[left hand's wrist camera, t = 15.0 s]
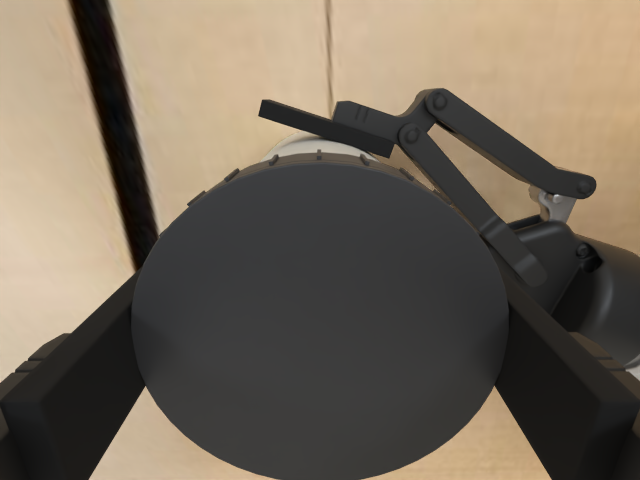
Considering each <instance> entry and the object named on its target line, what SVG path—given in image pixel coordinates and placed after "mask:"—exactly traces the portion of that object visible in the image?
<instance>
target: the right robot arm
mask: <svg viewBox="0 0 640 480" xmlns="http://www.w3.org/2000/svg"><path fill="white" fill-rule="evenodd" d="M258 116H259V117H262V118H266V119H269V120H272V121H275V122H278V123H281V124H284V125H287V126H290V127H293V128H296V129H299V130H303V131H306V132H309V133H312V134H315V135H318V136H321V137H324V138H327V139H330V140H333V141H336V142H339V143H343V144H346V145H349V146H352V147H355V148H358V149H361V150H364V151H367V152H370V153H373V154H376V155H380V156H383V157H386V158H390V155H391V152H392V149H393V147H394V144H397V145H398V146H399V147H400V149H401V150H402V151H403V152H404V153H405V154H406V155H407V156H408V157H409V159H410V160H411V161H412V162H413V163H414V164H415V165H416V166H417V168H418V169H419V170H420V171H421V172H422V173H423V174H424V175H425V176H426V178H427V179H428V180H429V181H430V182H431V183H432V184H433V185H434V187H435V188H436V189H437V190H438V191H439V192H440V193H441V194H442V195H443V196H444V197H445V198H447V199H448V200H449V201H450V202H452V204H451V206H452V207H453V208H454V209H455V210H456V211H457V212H458V213H459V214H460V215H461V216H462V217H463V218H464V219H465V220H466V221H467V222H468V223H469V224H470V225H471V226H472V227H473V228H474V229H476V230H477V231H478V232H479V234H480V235H479V236H480V238H481V239H482V240H483V242H484V243H485V244H486V246H487V247H488V249H489V251H490V253H491V255H492V257H493V259H494V261H495V263H496V264H497V266H498V267H499V268H500V269H501V270H502V271H503V272H504V273H505V274H507V275H508V276H509V277H510V278H511V279H512V280H513V281H514V282H515V283H516V284H517V285H518V286H519V287H520V288H521V289H522V290H524V291H525V292H526V293H527V294H528V295H529V296H530V297H531V298H532V299H533V300H534V301H535V302H536V303H537V304H538V305H539V306H541V307H542V308H543V309H544V310H545V311H546V312H547V313H548V314H549V315H550V316H551V317H552V318H553V319H554V320H555V321H556V322H558V323H559V324H560V325H561V326H562V327H563V328H564V329H565V330H566V331H567V332H578V333H579V334H581V335H583V336H585V337H586V338H588V339H590V340H592V341H594V342H595V343H597V344H598V345H600V346H601V347H602V348H603V349H604V350H605V351H606V352H608V353H609V354H610V355H611V356H612V357H613V360H617V361H618V362H619V363H620V364H621V365H622V366H623V367H625V368H626V369H625V370H626V371H629V372H630V373H631V374H632V375H634V376H635V377H636V378H637V379H638V380H639V381H640V255H639V254H634V253H632V252H630V251H628V250H625V249H622V248H619V247H616V246H612V245H609V244H606V243H603V242H600V241H597V240H594V239H590V238H587V237H584V236H581V235H578V234H575V233H573V231H572V230H571V229H570V227H569V226H568V225H567V224H566V222H567V219H568V217H569V215H570V213H571V211H572V208H573V206H574V204H575V202H576V200H577V199H585V198H588V197H589V196H591V195H592V194H593V193H594V191H595V189H596V181H595V179H594V178H593V177H591V176H588V175H585V174H581V173H578V172H574V171H571V170H567V169H564V168H560V167H555V166H553V165H552V164H550V163H549V162H547V161H546V160H545V159H543V158H542V157H540V156H539V155H538V154H536V153H535V152H533V151H532V150H531V149H529V148H528V147H526V146H525V145H524V144H522V143H521V142H519V141H518V140H517V139H515V138H514V137H512V136H511V135H510V134H508V133H507V132H505V131H504V130H503V129H501V128H500V127H498V126H497V125H496V124H494V123H493V122H491V121H490V120H489V119H487V118H486V117H484V116H483V115H482V114H480V113H479V112H477V111H476V110H475V109H473V108H472V107H470V106H469V105H468V104H466V103H465V102H464V101H462V100H461V99H459V98H458V97H457V96H455V95H454V94H452V93H451V92H450V91H448V90H446V89H444V88H439V89H438V88H436V89H427V90H423V91H421V92H419V93H418V94H417V96H416V98H415V101H414V102H413V103H412V105H411V106H410V107H409V108H408V110H407V111H406V112H404V113H403V114H401V115H398V116H393V115H390V114H387V113H384V112H381V111H378V110H375V109H372V108H369V107H366V106H363V105H360V104H357V103H354V102H351V101H339V102H337V103H336V106H335V109H334V113H333V116H332V119H331V120H330V119H327V118H324V117H321V116H318V115H315V114H312V113H309V112H306V111H303V110H300V109H297V108H294V107H291V106H287V105H284V104H281V103H278V102H275V101H272V100H262V103H261V107H260V111H259V115H258ZM435 123H436V124H437V125H438V126H440V127H441V128H443V129H444V130H446V131H447V132H449V133H450V134H451V135H453V136H454V137H456V138H457V139H459V140H460V141H462V142H463V143H465V144H466V145H467V146H469V147H470V148H472V149H473V150H475V151H476V152H478V153H479V154H480V155H482V156H483V157H485V158H486V159H488V160H489V161H491V162H492V163H494V164H495V165H496V166H498V167H499V168H501V169H502V170H504V171H505V172H507V173H508V174H509V175H511V176H513V177H514V178H516V179H518V180H520V181H523V182H525V183H527V184H530V187H529V192H530V197H531V199H532V200H533V201H535V202H537V203H538V204H539V205H540V208H541V212H540V214H539V215H534V216H531V217H528V218H524V219H521V220H518V221H514V222H511V223H508V224H506V223H505V222H504V221H503V220H502V219H501V218H500V217H499V216H498V215H497V214H496V213H495V212H494V211H493V210H492V209H491V207H490V206H489V205H488V204H487V203H486V202H485V200H484V199H483V198H482V197H481V196H480V195H479V193H478V192H477V191H476V190H475V189H474V188H473V186H472V185H471V184H470V183H469V182H468V181H467V179H466V178H465V177H464V176H463V175H462V174H461V172H460V171H459V170H458V169H457V168H456V167H455V165H454V164H453V163H452V162H451V161H450V160H449V158H448V157H447V156H446V155H445V154H444V153H443V151H442V150H441V149H440V148H439V147H438V146H437V144H436V143H435V142H434V141H433V140H432V139H431V137H430V136H429V135H428V134H427V132H428V131H429V130H430V128H431V127H432V126H433V125H434V124H435Z"/></svg>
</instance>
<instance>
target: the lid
mask: <svg viewBox="0 0 640 480" xmlns="http://www.w3.org/2000/svg"><path fill="white" fill-rule="evenodd" d="M451 204H452V202H450V201H449V200H448V199H447V198H445V197H444V196H443V195H441V194H440V193H439V192H438V191H436V190H434V191H431V190H430V189H429V188H427V187H426V186H424V185H423V184H422V183H420V182H419V181H418V180H416V179H415V178H414V177H413V176H412V175H410V174H409V173H408V172H407V171H406V170H404V169H403V168H400V169H399V170H398V169H396V168H394V167H391V166H388V165H385V164H383V163H380V162H377V161H375V160H372V159H367V158H366V156H365V155H364V154H360V157H358V156H354V155H349V154H339V153H327V152H321V149H317V153H298V154H293V155H287V156H282V157H279V156H278V154H276V155H274V156H273V157H272V159H269V160H266V161H263V162H260V163H257V164H254V165H251V166H249V167H247V168H245V169H243V170H241V171H239V169H238V168H237V169H235V170H234V171H233V172H232V173H230V174H229V175H228V176H227V177H226V178H224V180H223V181H222V182H220V183H219V184H217V185H216V186H214V187H213V188H211V189H210V190H209V191H207V192H205V191H203V192H201V193H200V194H199V195H198V196H196V197H195V198H194V199H193V200H191V201H190V202H189V203H188V204H187V205H188V206H189V207H188V208H187V209H186V210H185V211H184V212H183V213H182V214H181V215H180V216H179V217H177V218H176V219H175V220H174V221H173V222H172V223H171V224H170V225H169V227H168V228H167V229H165V230H164V231H163V232H162V233H161V234H160V235H159V236H160V238H159V239H158V240H157V242H156V243H155V245H154V247H153V249H152V250H151V252H150V254H149V255H148V257H147V259H146V261H145V262H144V265H143V268H142V270H141V273H140V275H139V278H138V281H137V283H136V288H135V292H134V297H133V302H132V311H131V334H132V339H133V345H134V350H135V355H136V359H137V364H138V368H139V371H140V373H141V376H142V378H143V380H144V383H145V385H146V387H147V389H148V391H149V392H150V394H151V396H152V397H153V399H154V401H155V402H156V404H157V405H158V407H159V408H160V409H161V410H162V412H163V413H164V414H165V415H166V417H167V418H168V419H169V420H170V421H171V422H172V423H173V424H174V425H175V426H176V427H177V428H178V429H179V430H180V431H181V432H182V433H183V434H184V435H185V436H186V437H188V438H189V439H190V440H191V441H193V442H194V443H195V444H197V445H198V446H199V447H201V448H202V449H204V450H205V451H207V452H209V453H210V454H212V455H214V456H215V457H217V458H219V459H221V460H223V461H225V462H227V463H229V464H231V465H233V466H236V467H238V468H241V469H243V470H246V471H249V472H252V473H255V474H258V475H262V476H266V477H270V478H274V479H279V480H361V479H365V478H370V477H374V476H378V475H382V474H385V473H388V472H391V471H394V470H397V469H400V468H402V467H404V466H406V465H409V464H411V463H413V462H415V461H417V460H419V459H421V458H423V457H424V456H426V455H428V454H430V453H431V452H433V451H435V450H436V449H438V448H439V447H440V446H442V445H443V444H445V443H446V442H447V441H449V440H450V439H451V438H453V437H454V436H455V435H456V434H457V433H458V432H459V431H460V430H461V429H462V428H463V427H464V426H466V425H467V424H468V422H469V421H470V420H471V419H472V418H473V417H474V415H475V414H476V413H477V412H478V411H479V409H480V408H481V407H482V405H483V404H484V402H485V400H486V399H487V397H488V396H489V394H490V393H491V391H492V389H493V387H494V385H495V383H496V381H497V378H498V376H499V374H500V372H501V368H502V364H503V360H504V355H505V350H506V345H507V340H508V335H509V308H508V302H507V296H506V290H505V286H504V283H503V281H502V278H501V275H500V272H499V269H498V266H497V264H496V263H495V261H494V259H493V257H492V255H491V253H490V251H489V249H488V247H487V246H486V244H485V243H484V242H483V240H482V239H481V238H480V236H479V235H480V234H479V232H478V231H477V230H476V229H474V228H473V227H472V226H471V225H470V224H469V223H468V222H467V221H466V220H465V219H464V218H463V217H462V216H461V215H460V214H459V213H458V212H457V211H456V210H455V209H454V208H452V207H451V206H450V205H451Z"/></svg>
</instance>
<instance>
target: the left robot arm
mask: <svg viewBox="0 0 640 480" xmlns="http://www.w3.org/2000/svg"><path fill="white" fill-rule="evenodd" d="M142 268H143V266H142V267H141V268H140V269H139V270H138V271H137V272H136V273H135V274H134V275H133V276H132V277H131V278H129V279H128V280H127V281H126V282H125V283H124V284H123V285H122V286H121V287H120V288H119V289H118V290H117V291H116V292H115V293H114V294H113V295H111V296H110V297H109V298H108V299H107V300H106V301H105V302H104V303H103V304H102V305H101V306H100V307H99V308H98V309H97V310H96V311H94V312H93V313H92V314H91V315H90V316H89V317H88V318H87V319H86V320H85V321H84V322H83V323H82V324H81V325H80V326H79V327H77V328H76V329H75V330H74V331H73V332H72V333H64V334H62V335H60V336H58V337H56V338H55V339H53V340H51V341H49V342H48V343H46V344H44V345H43V346H42V347H40V348H39V349H38V350H37V351H36V352H35V353H34V354H33V355H31V356H30V357H29V358H28V361H25V362H24V363H22V364H21V365H20V366H19V367H18V368H17V369H16V370H15V373H11V374H10V375H9V376H8V377H7V378H5V379H4V380H3V381H2V382H1V383H0V480H89V478H90V476H91V475H92V473H93V471H94V470H95V468H96V466H97V465H98V463H99V461H100V460H101V458H102V457H103V455H104V453H105V452H106V450H107V448H108V447H109V445H110V443H111V442H112V440H113V438H114V437H115V435H116V434H117V432H118V430H119V429H120V427H121V425H122V424H123V422H124V420H125V419H126V417H127V415H128V414H129V412H130V411H131V409H132V407H133V406H134V404H135V402H136V401H137V399H138V397H139V396H140V394H141V392H142V391H143V389H144V388H145V386H146V385H145V383H144V380H143V378H142V376H141V373H140V371H139V368H138V364H137V359H136V355H135V350H134V345H133V339H132V334H131V311H132V302H133V297H134V292H135V288H136V283H137V281H138V278H139V275H140V273H141V270H142ZM498 269H499V272H500V275H501V278H502V281H503V283H504V286H505V290H506V296H507V302H508V308H509V335H508V340H507V345H506V350H505V355H504V360H503V364H502V368H501V372H500V374H499V376H498V378H497V381H496V383H495V387H496V389H497V390H498V392H499V394H500V395H501V397H502V399H503V400H504V402H505V403H506V405H507V407H508V408H509V410H510V412H511V413H512V415H513V417H514V418H515V420H516V422H517V423H518V425H519V426H520V428H521V430H522V431H523V433H524V435H525V436H526V438H527V440H528V441H529V443H530V445H531V446H532V448H533V450H534V451H535V453H536V454H537V456H538V458H539V459H540V461H541V463H542V464H543V466H544V468H545V469H546V471H547V473H548V474H549V476H550V477H551V479H552V480H640V381H639V380H638V379H637V378H636V377H635V376H634V375H632V374H631V373H630V372H629V371H626V370H625V369H626V368H625V367H623V366H622V365H621V364H620V363H619V362H618V361H617V360H613V357H612V356H611V355H610V354H609V353H608V352H606V351H605V350H604V349H603V348H602V347H601V346H600V345H598V344H597V343H595V342H594V341H592V340H590V339H588V338H586V337H585V336H583V335H581V334H579V333H578V332H567V331H566V330H565V329H564V328H563V327H562V326H561V325H560V324H559V323H558V322H556V321H555V320H554V319H553V318H552V317H551V316H550V315H549V314H548V313H547V312H546V311H545V310H544V309H543V308H542V307H541V306H539V305H538V304H537V303H536V302H535V301H534V300H533V299H532V298H531V297H530V296H529V295H528V294H527V293H526V292H525V291H524V290H522V289H521V288H520V287H519V286H518V285H517V284H516V283H515V282H514V281H513V280H512V279H511V278H510V277H509V276H508V275H507V274H505V273H504V272H503V271H502V270H501V269H500V268H499V267H498Z"/></svg>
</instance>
